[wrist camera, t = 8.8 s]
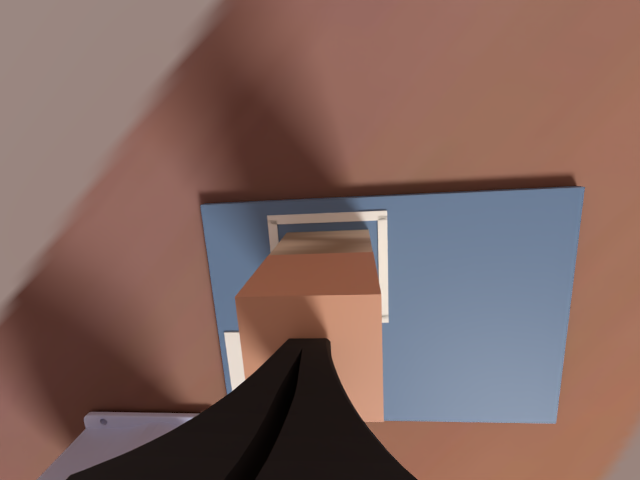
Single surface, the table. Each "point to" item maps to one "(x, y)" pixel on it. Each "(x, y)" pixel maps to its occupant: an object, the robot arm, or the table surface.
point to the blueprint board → (434, 292)
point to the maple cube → (324, 242)
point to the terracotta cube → (319, 317)
